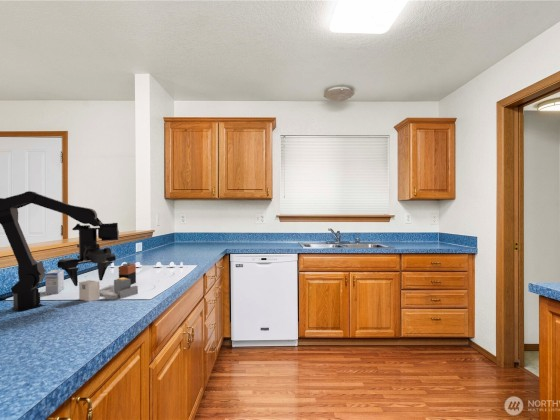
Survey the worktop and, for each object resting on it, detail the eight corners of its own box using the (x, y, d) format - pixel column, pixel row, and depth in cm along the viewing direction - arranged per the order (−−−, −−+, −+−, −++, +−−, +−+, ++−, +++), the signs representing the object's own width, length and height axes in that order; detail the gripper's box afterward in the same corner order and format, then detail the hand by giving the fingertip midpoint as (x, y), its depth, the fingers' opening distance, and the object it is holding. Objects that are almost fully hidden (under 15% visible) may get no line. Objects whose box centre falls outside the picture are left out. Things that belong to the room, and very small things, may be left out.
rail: (120, 300, 117) (120, 290, 117) (93, 294, 125) (92, 286, 125) (137, 294, 124) (137, 286, 124) (111, 290, 132) (110, 281, 132)
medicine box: (51, 290, 134) (51, 270, 133) (64, 289, 135) (63, 269, 135) (45, 295, 126) (44, 273, 126) (58, 293, 128) (58, 272, 128)
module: (88, 303, 114) (88, 284, 114) (79, 301, 117) (78, 282, 117) (99, 300, 118) (99, 281, 118) (90, 298, 121) (89, 280, 121)
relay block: (121, 296, 120) (121, 280, 119) (114, 295, 122) (113, 279, 122) (130, 294, 123) (130, 277, 123) (123, 292, 125) (123, 276, 125)
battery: (118, 287, 136) (118, 264, 136) (127, 283, 143) (126, 261, 143) (128, 287, 136) (127, 264, 136) (136, 283, 142) (136, 261, 142)
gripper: (74, 245, 105) (75, 291, 105) (124, 240, 122) (125, 279, 122) (56, 244, 110) (57, 288, 111) (106, 238, 127) (107, 277, 127)
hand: (88, 283), depth 117 cm, fingers open, 9 cm apart
